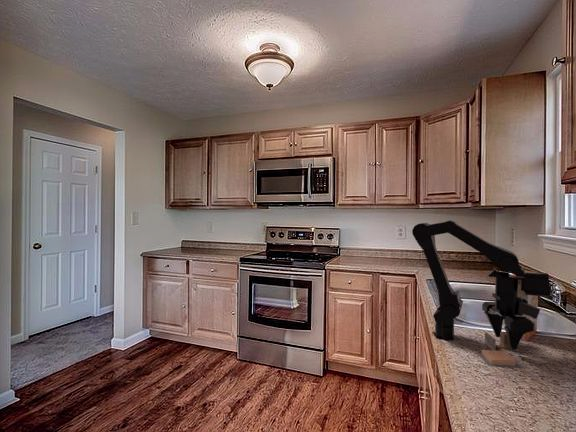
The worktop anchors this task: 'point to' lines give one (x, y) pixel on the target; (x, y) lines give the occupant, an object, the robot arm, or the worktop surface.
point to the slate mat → (499, 365)
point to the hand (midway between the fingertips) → (505, 342)
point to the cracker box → (532, 301)
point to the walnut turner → (492, 342)
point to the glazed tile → (498, 357)
